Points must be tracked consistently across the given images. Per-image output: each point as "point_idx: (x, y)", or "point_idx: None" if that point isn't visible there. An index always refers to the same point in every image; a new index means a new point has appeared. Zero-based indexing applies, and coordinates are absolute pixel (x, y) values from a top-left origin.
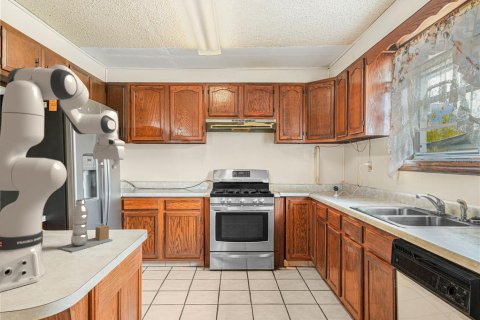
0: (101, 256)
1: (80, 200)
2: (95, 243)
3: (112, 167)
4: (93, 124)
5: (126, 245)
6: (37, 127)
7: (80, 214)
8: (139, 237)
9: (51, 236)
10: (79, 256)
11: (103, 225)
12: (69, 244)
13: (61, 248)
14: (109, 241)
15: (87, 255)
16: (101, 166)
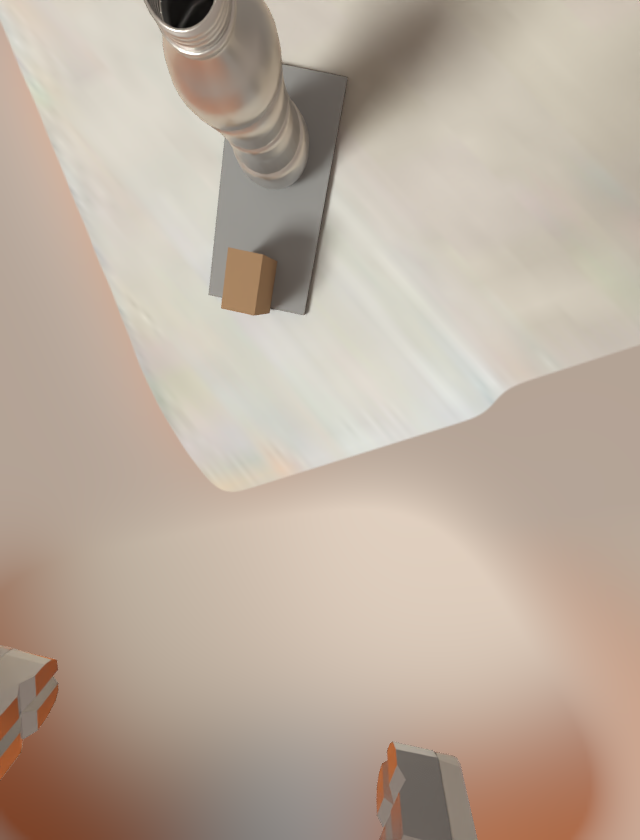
0: (82, 71)
1: (213, 16)
2: (232, 209)
3: (11, 666)
4: None
5: (110, 256)
6: None
7: (181, 11)
8: (149, 383)
9: (546, 253)
10: None
11: (255, 305)
12: (329, 144)
13: (312, 70)
14: (211, 275)
15: (144, 55)
16: (400, 786)
